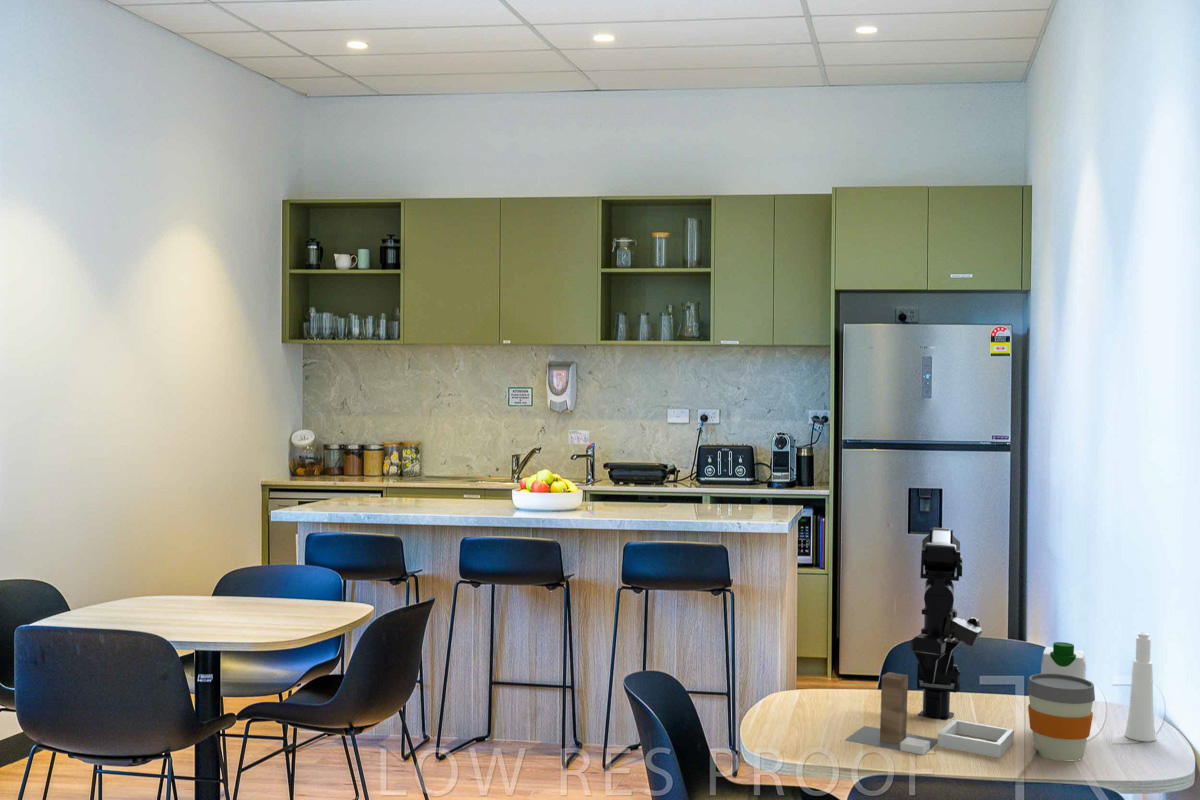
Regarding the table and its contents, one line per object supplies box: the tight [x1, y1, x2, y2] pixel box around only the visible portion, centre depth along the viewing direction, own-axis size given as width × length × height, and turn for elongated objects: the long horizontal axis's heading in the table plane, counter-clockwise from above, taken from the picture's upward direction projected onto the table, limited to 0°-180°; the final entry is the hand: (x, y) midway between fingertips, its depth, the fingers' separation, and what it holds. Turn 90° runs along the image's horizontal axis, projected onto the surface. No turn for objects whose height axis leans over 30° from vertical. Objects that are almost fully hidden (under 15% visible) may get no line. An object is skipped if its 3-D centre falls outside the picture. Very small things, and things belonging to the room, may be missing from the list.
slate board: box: [844, 725, 938, 756], centre depth 231 cm, size 12×16×2 cm
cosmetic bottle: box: [1124, 632, 1157, 743], centre depth 242 cm, size 6×6×22 cm
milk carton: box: [1040, 641, 1087, 680], centre depth 241 cm, size 9×9×20 cm
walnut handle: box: [879, 671, 909, 744], centre depth 231 cm, size 4×4×13 cm
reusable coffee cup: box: [1026, 673, 1096, 761], centre depth 228 cm, size 13×13×15 cm
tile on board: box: [900, 737, 930, 756], centre depth 225 cm, size 4×4×2 cm
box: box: [936, 718, 1015, 759], centre depth 229 cm, size 12×12×4 cm
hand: (936, 679), depth 238 cm, fingers open, 9 cm apart
